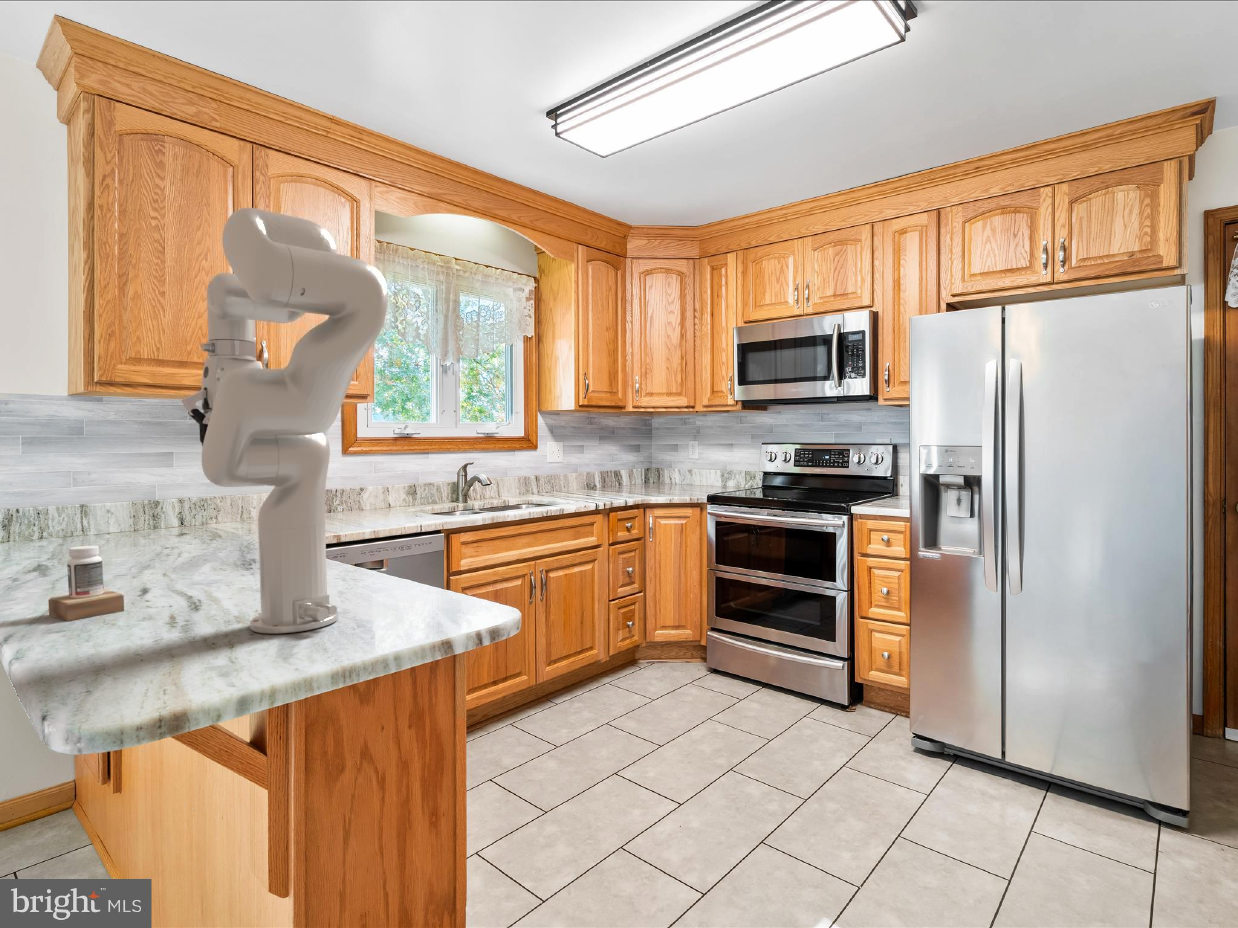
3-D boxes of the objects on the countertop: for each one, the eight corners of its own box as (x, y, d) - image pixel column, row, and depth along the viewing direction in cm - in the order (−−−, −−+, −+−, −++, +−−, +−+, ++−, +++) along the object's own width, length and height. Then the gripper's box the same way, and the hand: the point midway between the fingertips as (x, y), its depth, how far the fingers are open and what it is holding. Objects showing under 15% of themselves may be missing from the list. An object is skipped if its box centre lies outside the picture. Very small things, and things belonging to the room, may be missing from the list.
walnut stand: (124, 610, 118) (123, 593, 118) (67, 621, 111) (67, 603, 111) (104, 605, 122) (103, 588, 122) (49, 615, 115) (48, 597, 115)
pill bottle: (110, 592, 118) (108, 545, 118) (86, 598, 114) (84, 549, 113) (86, 592, 119) (84, 545, 119) (61, 598, 114) (59, 549, 114)
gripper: (192, 345, 114) (196, 447, 115) (289, 355, 129) (292, 445, 129) (170, 349, 118) (174, 447, 119) (267, 359, 133) (270, 446, 133)
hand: (236, 446), depth 124 cm, fingers open, 9 cm apart
